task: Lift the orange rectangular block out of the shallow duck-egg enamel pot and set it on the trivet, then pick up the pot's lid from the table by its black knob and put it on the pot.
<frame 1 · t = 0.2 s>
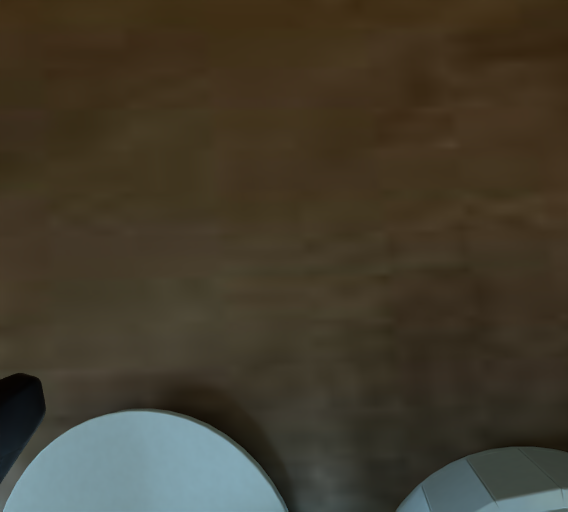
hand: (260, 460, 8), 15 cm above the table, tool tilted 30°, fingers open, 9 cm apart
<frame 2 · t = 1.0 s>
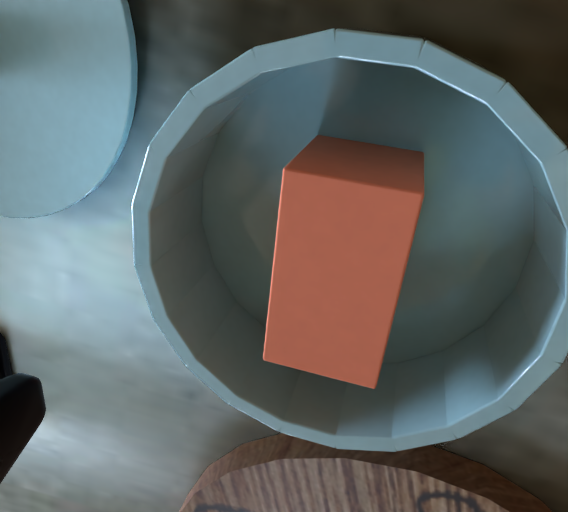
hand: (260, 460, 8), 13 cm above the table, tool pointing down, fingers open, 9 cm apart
pot: (355, 224, 20), on the table
orange rectangular block: (353, 229, 19), resting on pot
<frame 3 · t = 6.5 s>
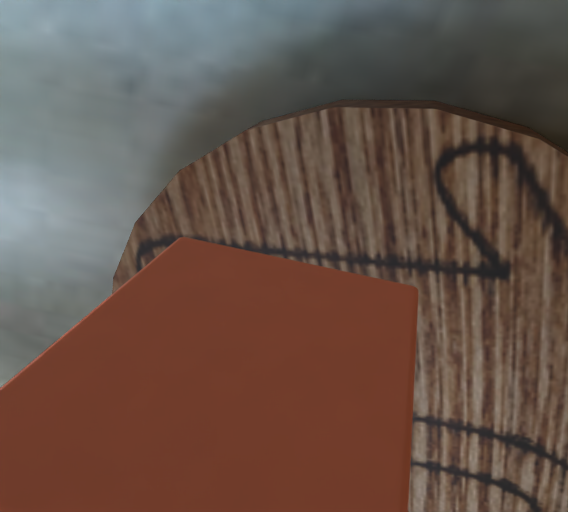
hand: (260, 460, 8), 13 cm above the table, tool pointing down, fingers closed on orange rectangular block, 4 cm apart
trivet: (369, 372, 23), on the table
orange rectangular block: (275, 416, 9), point 12 cm above the table, touching gripper
when the fingers open (3 cm above the table, at t = 9.6 s): orange rectangular block stays where it is, resting on trivet.
when the fingers open (6 cm above the table, at t = 21.0 s): lid stays where it is, resting on pot.
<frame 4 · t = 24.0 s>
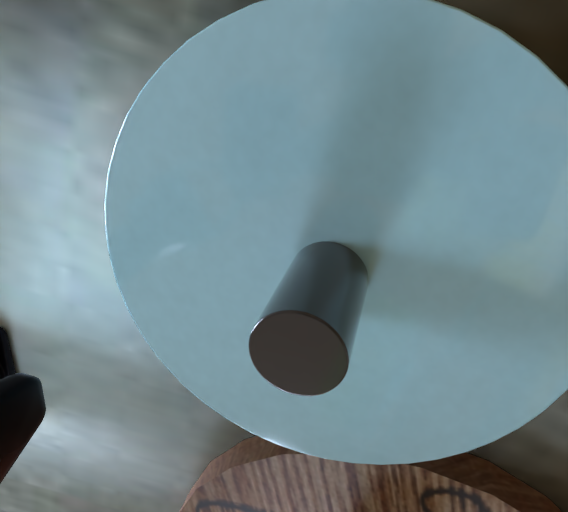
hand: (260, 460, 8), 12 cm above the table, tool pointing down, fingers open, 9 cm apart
lid: (331, 269, 15), point 5 cm above the table, touching pot
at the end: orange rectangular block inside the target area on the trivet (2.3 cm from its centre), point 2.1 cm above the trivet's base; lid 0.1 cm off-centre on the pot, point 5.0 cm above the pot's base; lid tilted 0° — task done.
